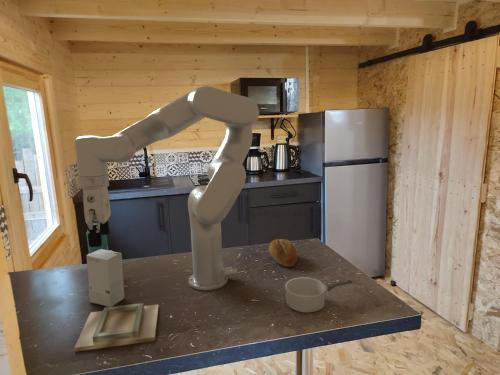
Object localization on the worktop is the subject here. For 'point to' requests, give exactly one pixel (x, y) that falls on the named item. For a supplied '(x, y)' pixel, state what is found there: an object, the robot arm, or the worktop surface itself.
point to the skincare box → (105, 277)
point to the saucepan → (308, 293)
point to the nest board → (119, 326)
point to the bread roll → (283, 252)
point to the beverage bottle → (104, 246)
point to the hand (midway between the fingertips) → (99, 240)
